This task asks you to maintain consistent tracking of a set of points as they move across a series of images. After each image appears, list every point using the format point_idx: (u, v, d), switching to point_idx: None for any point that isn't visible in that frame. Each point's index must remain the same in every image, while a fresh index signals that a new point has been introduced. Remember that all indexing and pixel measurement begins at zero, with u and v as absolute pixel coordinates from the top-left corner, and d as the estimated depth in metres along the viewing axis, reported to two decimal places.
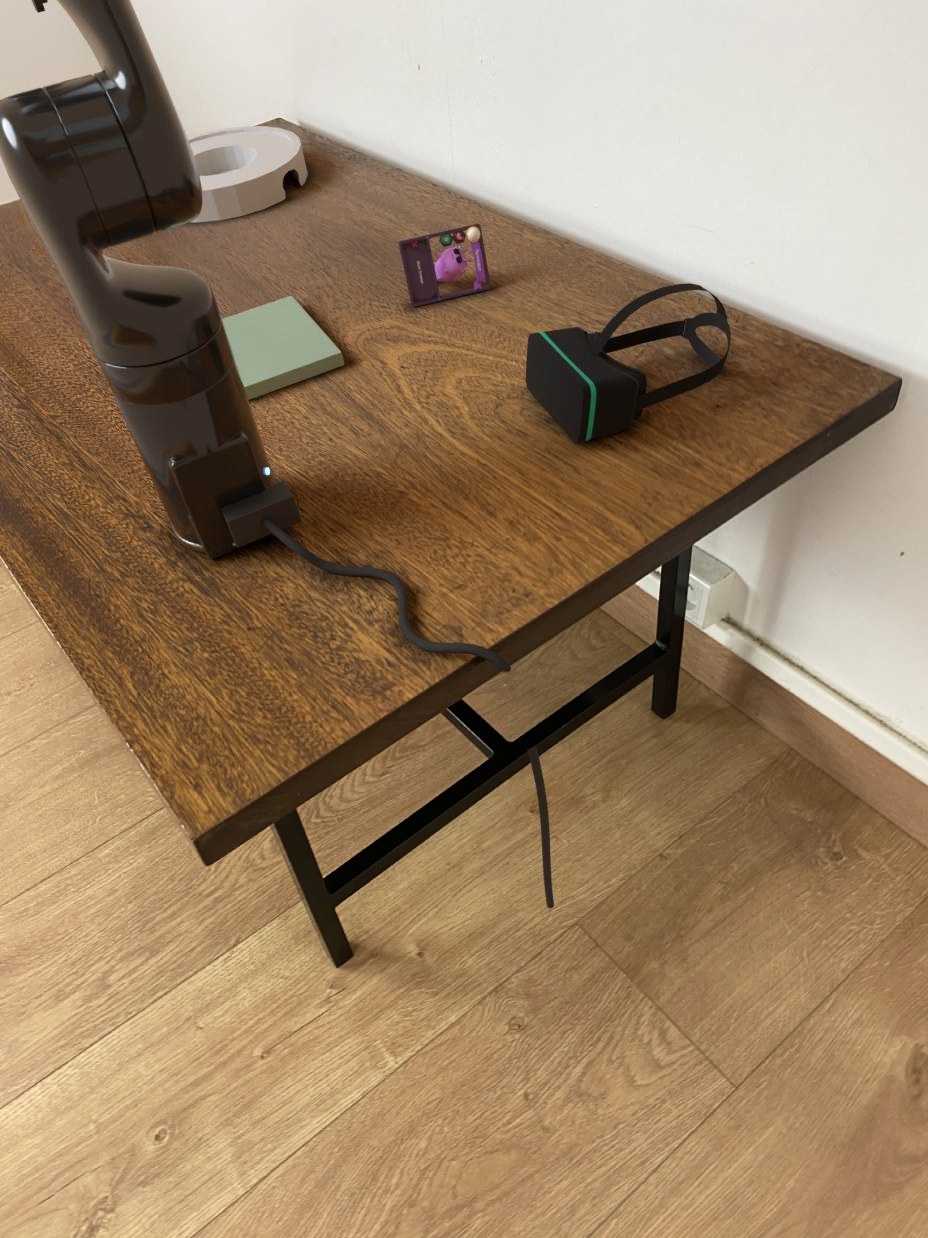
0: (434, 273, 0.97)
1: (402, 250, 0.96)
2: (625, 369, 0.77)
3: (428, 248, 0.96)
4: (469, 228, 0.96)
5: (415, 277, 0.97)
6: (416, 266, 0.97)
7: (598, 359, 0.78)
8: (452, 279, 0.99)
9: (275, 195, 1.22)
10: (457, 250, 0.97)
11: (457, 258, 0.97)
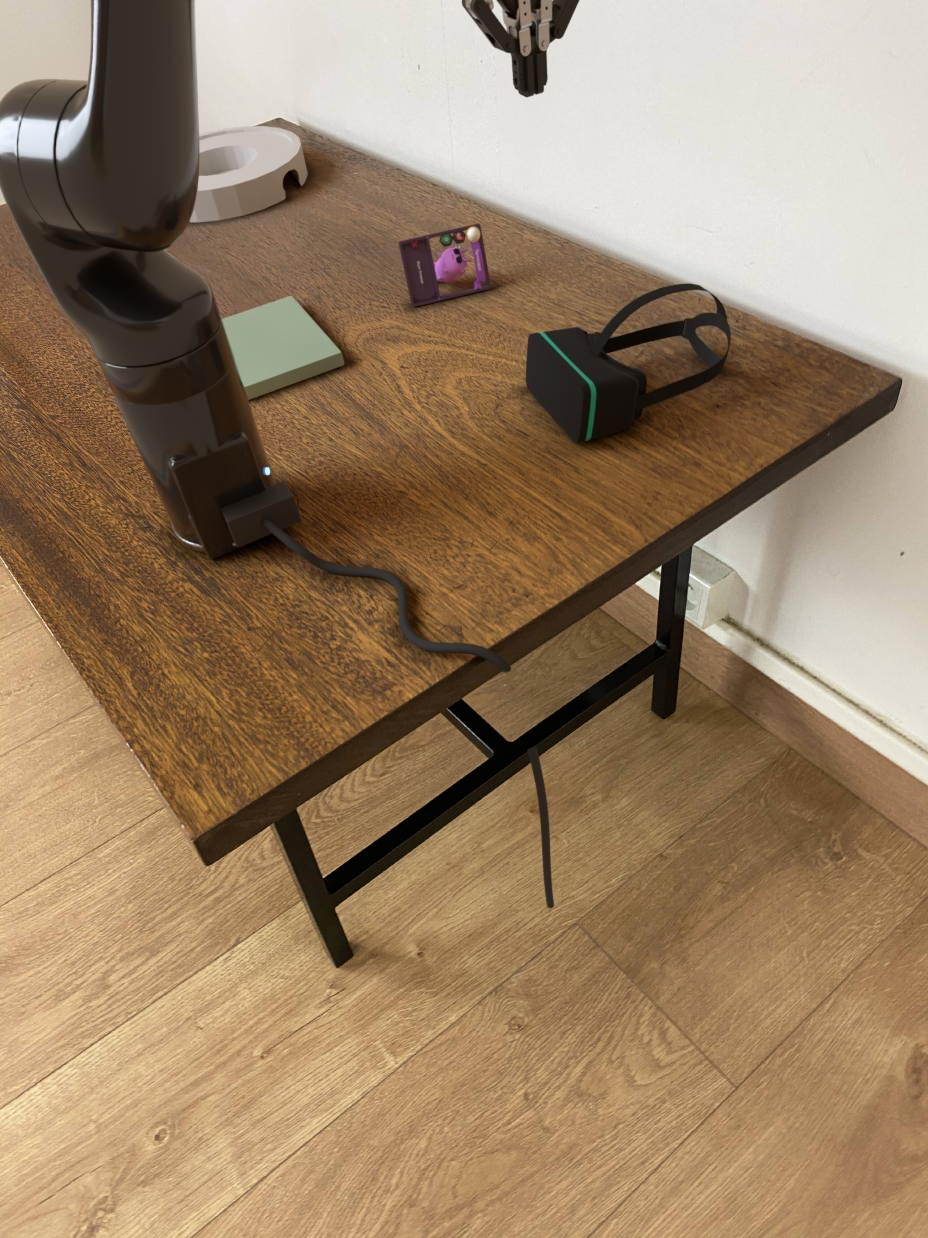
0: (434, 273, 0.97)
1: (402, 250, 0.96)
2: (625, 369, 0.77)
3: (428, 248, 0.96)
4: (469, 228, 0.96)
5: (415, 277, 0.97)
6: (416, 266, 0.97)
7: (598, 359, 0.78)
8: (452, 279, 0.99)
9: (275, 195, 1.22)
10: (457, 250, 0.97)
11: (457, 258, 0.97)
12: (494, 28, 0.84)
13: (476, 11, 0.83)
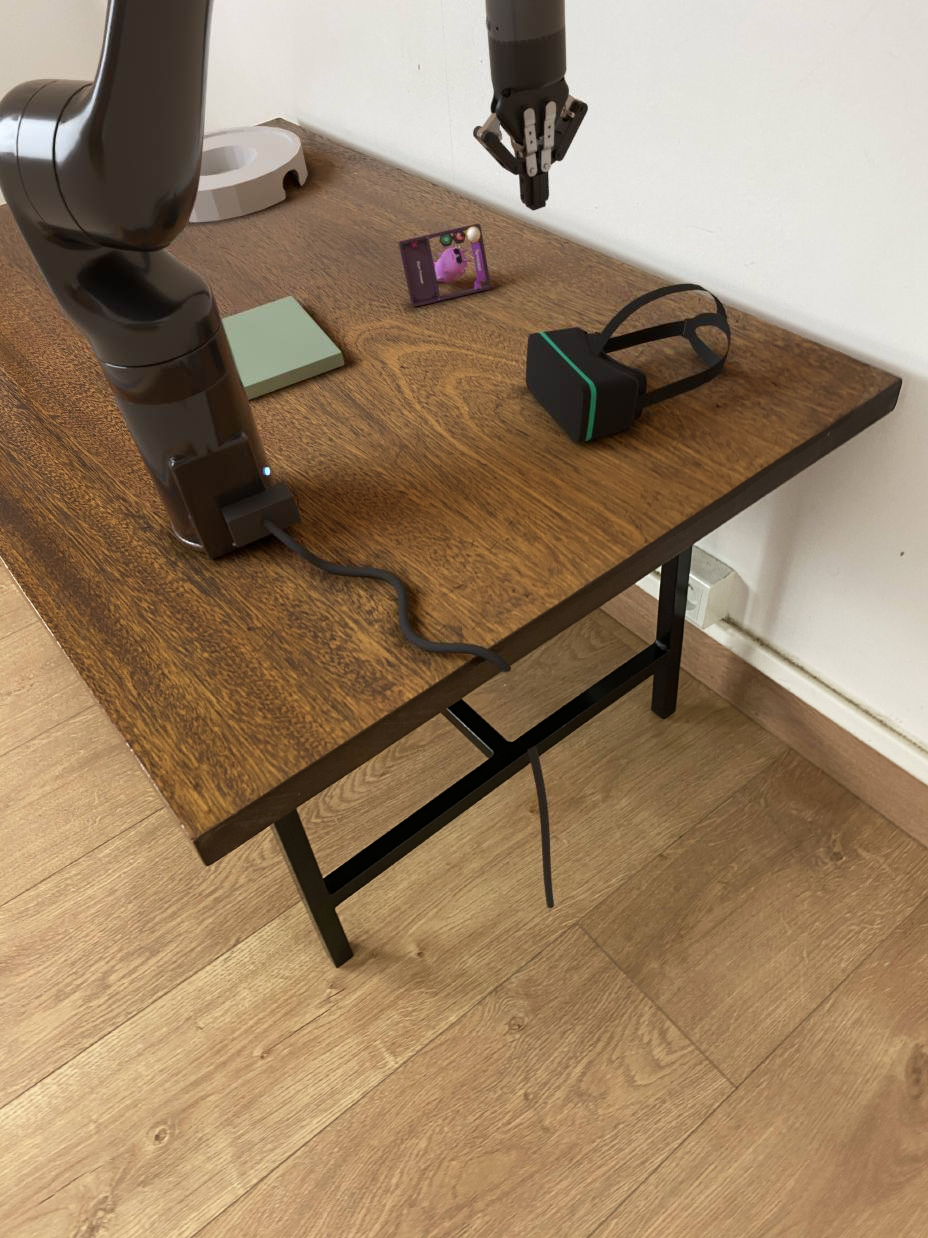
0: (434, 273, 0.97)
1: (402, 250, 0.96)
2: (625, 369, 0.77)
3: (428, 248, 0.96)
4: (469, 228, 0.96)
5: (415, 277, 0.97)
6: (416, 266, 0.97)
7: (598, 359, 0.78)
8: (452, 279, 0.99)
9: (275, 195, 1.22)
10: (457, 250, 0.97)
11: (457, 258, 0.97)
12: (503, 155, 0.93)
13: (486, 143, 0.91)
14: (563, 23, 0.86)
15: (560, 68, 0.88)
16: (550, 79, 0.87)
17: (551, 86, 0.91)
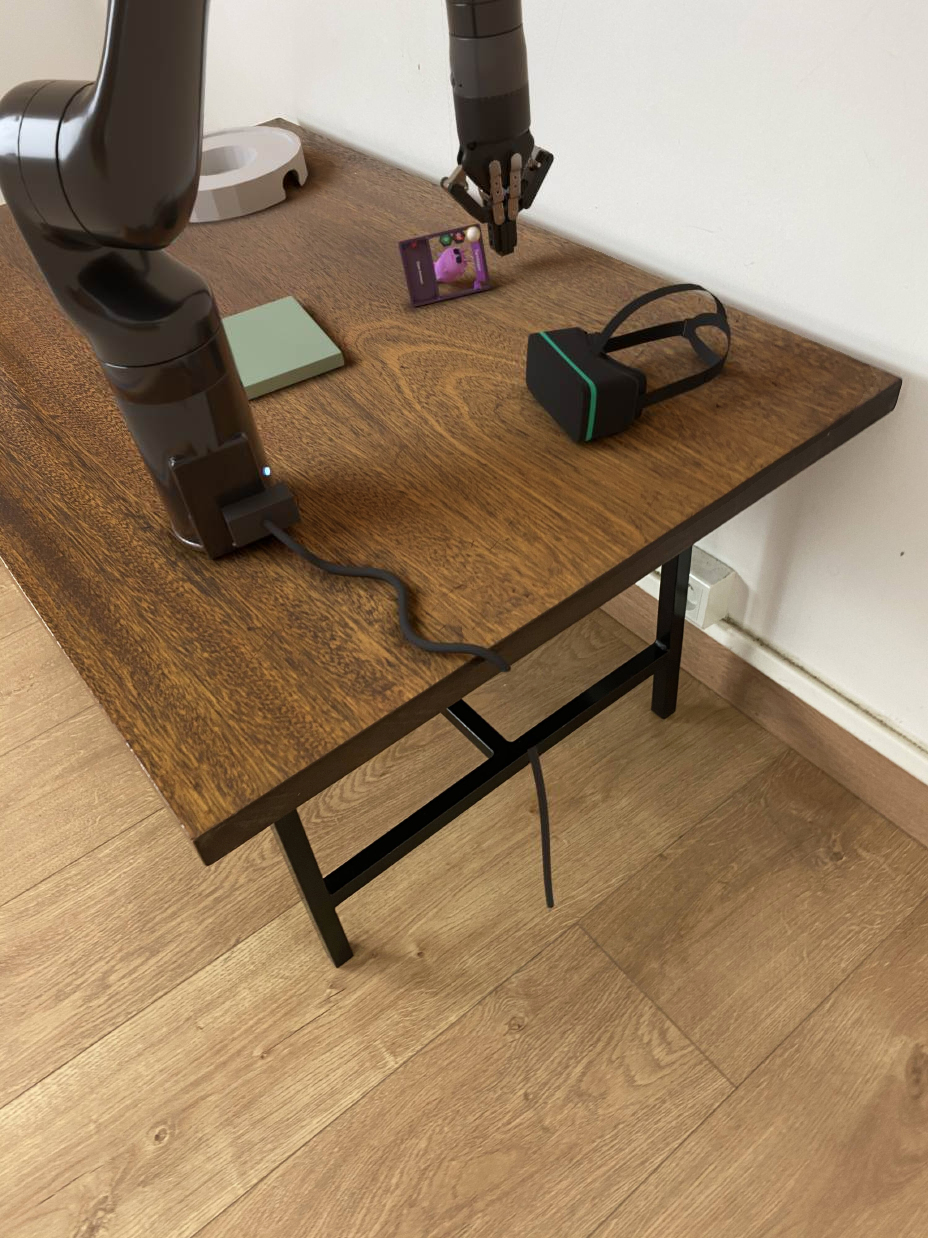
0: (434, 273, 0.97)
1: (402, 250, 0.96)
2: (625, 369, 0.77)
3: (428, 248, 0.96)
4: (469, 228, 0.96)
5: (415, 277, 0.97)
6: (416, 266, 0.97)
7: (598, 359, 0.78)
8: (452, 279, 0.99)
9: (275, 195, 1.22)
10: (457, 250, 0.97)
11: (457, 258, 0.97)
12: (470, 205, 0.94)
13: (453, 194, 0.93)
14: (526, 79, 0.87)
15: (524, 122, 0.89)
16: (514, 133, 0.89)
17: (516, 138, 0.92)
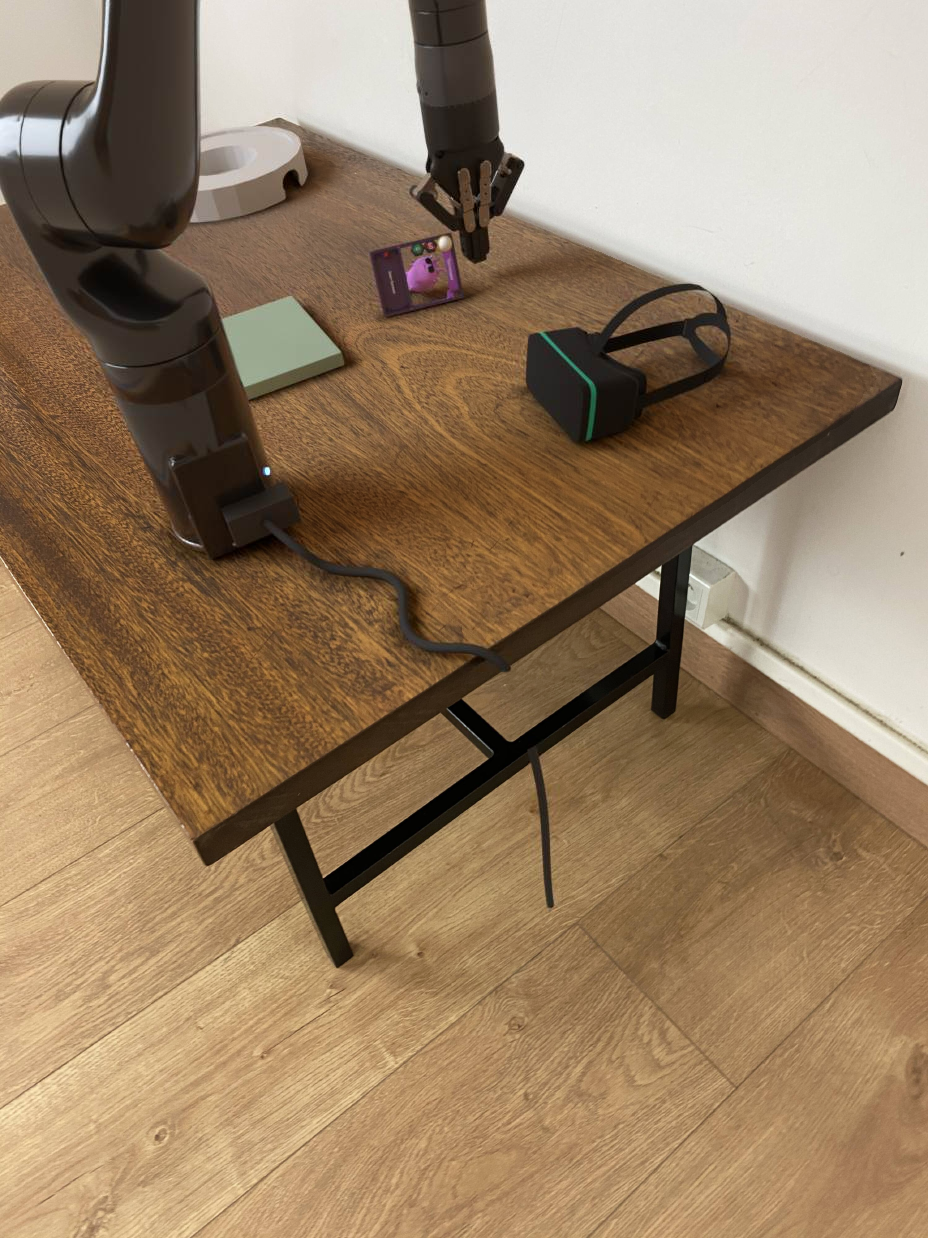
0: (406, 283, 0.97)
1: (373, 261, 0.95)
2: (625, 369, 0.77)
3: (399, 258, 0.95)
4: (440, 237, 0.95)
5: (387, 287, 0.96)
6: (388, 276, 0.96)
7: (598, 359, 0.78)
8: (424, 288, 0.98)
9: (275, 195, 1.22)
10: (429, 259, 0.97)
11: (429, 267, 0.96)
12: (440, 213, 0.93)
13: (422, 203, 0.92)
14: (492, 87, 0.86)
15: (492, 130, 0.88)
16: (481, 141, 0.88)
17: (485, 145, 0.91)
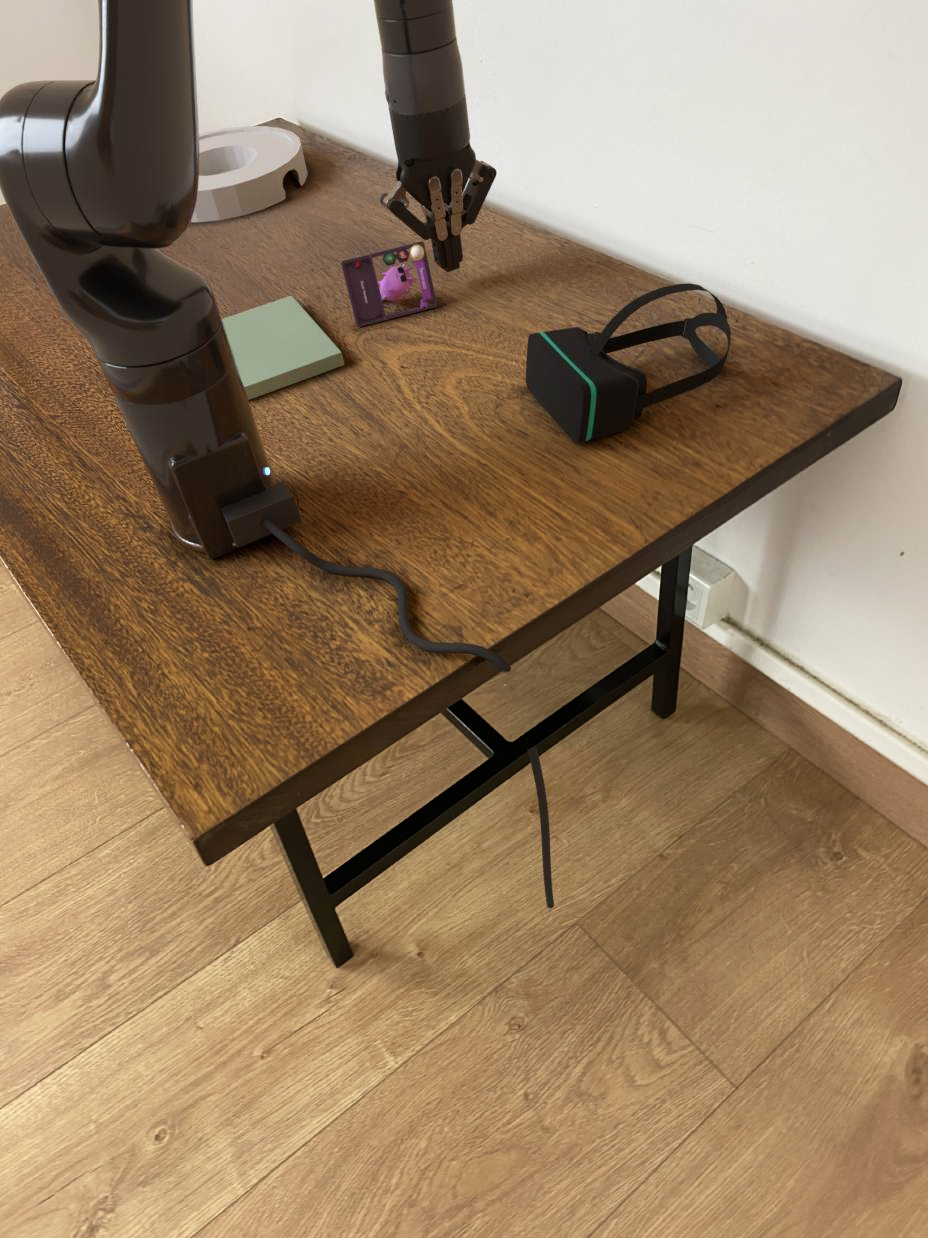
0: (378, 292, 0.96)
1: (345, 270, 0.94)
2: (625, 369, 0.77)
3: (371, 267, 0.95)
4: (412, 246, 0.95)
5: (360, 297, 0.96)
6: (360, 285, 0.95)
7: (598, 359, 0.78)
8: (397, 297, 0.98)
9: (275, 195, 1.22)
10: (401, 269, 0.96)
11: (401, 276, 0.96)
12: (411, 222, 0.93)
13: (392, 211, 0.91)
14: (462, 95, 0.85)
15: (461, 138, 0.87)
16: (451, 150, 0.87)
17: (456, 154, 0.90)
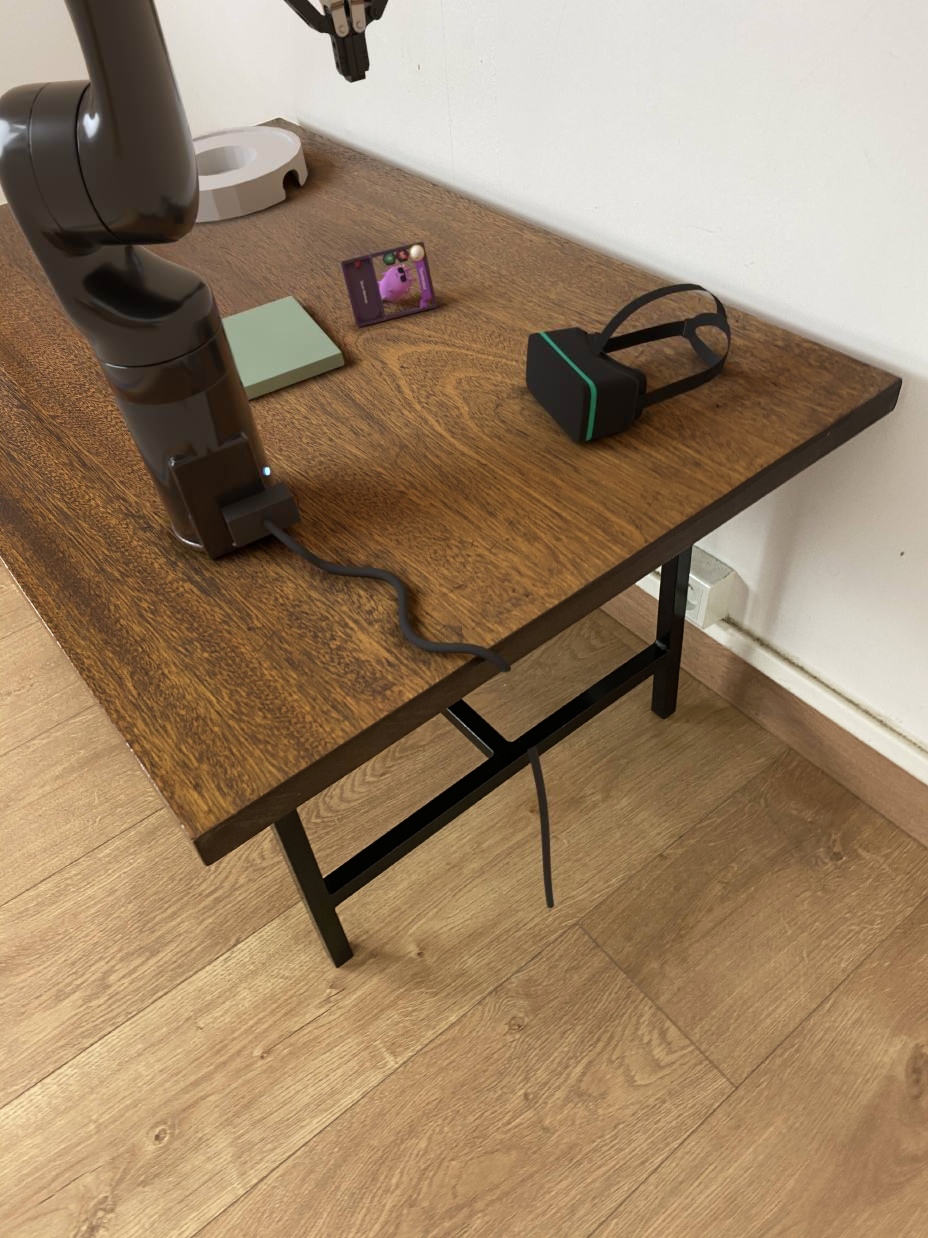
0: (378, 292, 0.96)
1: (345, 270, 0.94)
2: (625, 369, 0.77)
3: (371, 267, 0.95)
4: (412, 246, 0.95)
5: (359, 297, 0.96)
6: (360, 285, 0.95)
7: (598, 359, 0.78)
8: (397, 298, 0.98)
9: (275, 195, 1.22)
10: (401, 269, 0.96)
11: (401, 277, 0.96)
12: (301, 5, 0.78)
13: None
14: None
15: None
16: None
17: None
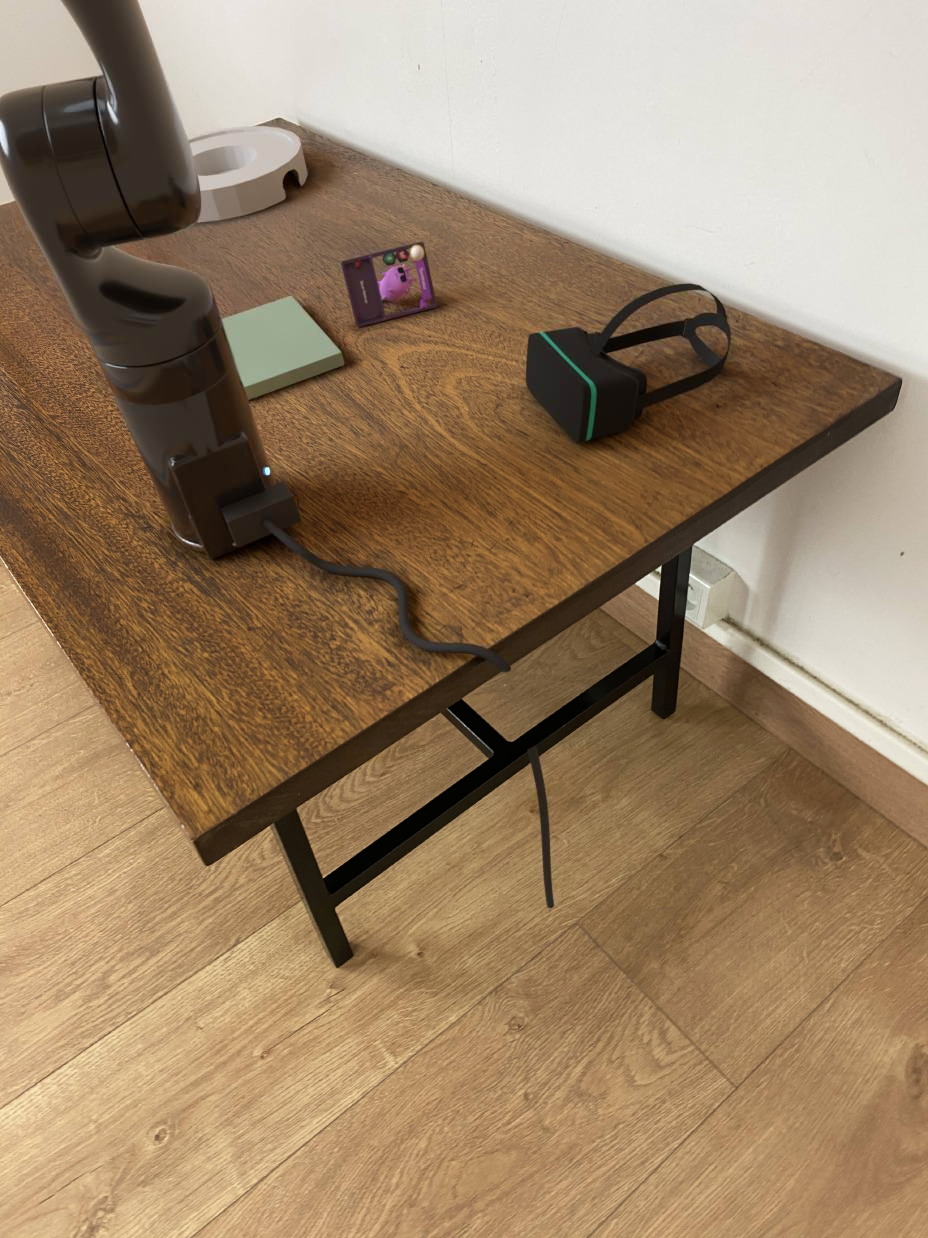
0: (378, 292, 0.96)
1: (345, 270, 0.94)
2: (625, 369, 0.77)
3: (371, 267, 0.95)
4: (412, 246, 0.95)
5: (359, 297, 0.96)
6: (360, 285, 0.95)
7: (598, 359, 0.78)
8: (397, 298, 0.98)
9: (275, 195, 1.22)
10: (401, 269, 0.96)
11: (401, 276, 0.96)
12: None
13: None
14: None
15: None
16: None
17: None
